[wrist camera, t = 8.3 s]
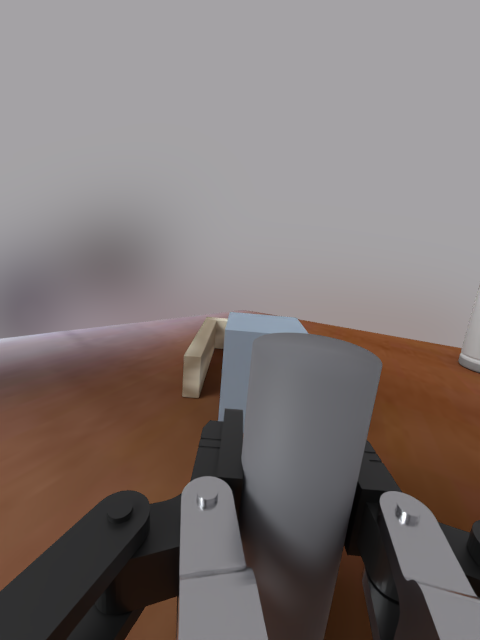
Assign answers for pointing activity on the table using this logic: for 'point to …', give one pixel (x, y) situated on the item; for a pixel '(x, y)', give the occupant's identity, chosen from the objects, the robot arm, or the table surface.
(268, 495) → the block
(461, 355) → the travel mug
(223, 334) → the frame
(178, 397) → the table surface
